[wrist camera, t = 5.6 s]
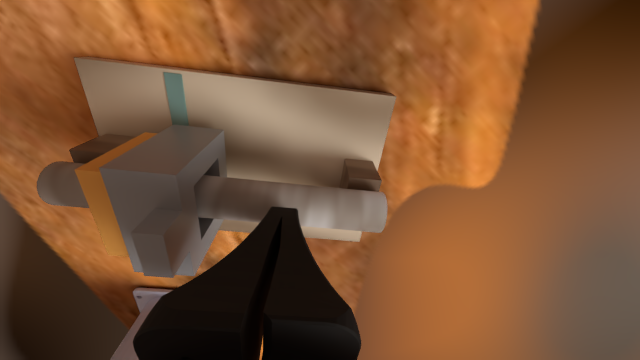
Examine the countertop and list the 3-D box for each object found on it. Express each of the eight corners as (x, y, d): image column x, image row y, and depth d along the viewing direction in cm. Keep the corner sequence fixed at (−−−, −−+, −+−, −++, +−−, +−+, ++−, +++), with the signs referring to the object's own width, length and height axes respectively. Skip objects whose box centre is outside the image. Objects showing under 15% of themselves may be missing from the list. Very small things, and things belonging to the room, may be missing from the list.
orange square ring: (183, 203, 18) (138, 257, 13) (160, 201, 17) (108, 255, 13) (170, 134, 15) (111, 173, 11) (145, 132, 15) (74, 169, 11)
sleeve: (229, 208, 18) (179, 303, 12) (187, 205, 18) (112, 299, 12) (223, 129, 16) (153, 196, 9) (173, 124, 15) (63, 188, 9)
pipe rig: (357, 233, 22) (371, 296, 17) (134, 214, 21) (70, 276, 16) (392, 93, 16) (429, 119, 11) (87, 56, 15) (-41, 65, 10)
